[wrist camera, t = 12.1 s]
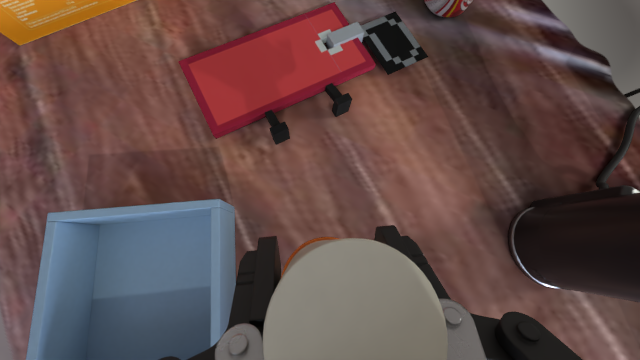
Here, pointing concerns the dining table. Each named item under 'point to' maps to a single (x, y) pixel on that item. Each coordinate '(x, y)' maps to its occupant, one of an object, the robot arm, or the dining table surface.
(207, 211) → the tote
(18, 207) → the dining table surface
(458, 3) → the soda can
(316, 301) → the white cylinder orange band
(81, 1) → the cereal box
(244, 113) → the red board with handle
